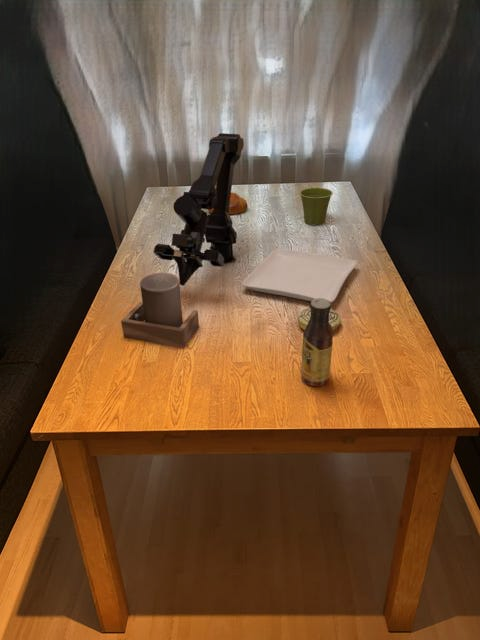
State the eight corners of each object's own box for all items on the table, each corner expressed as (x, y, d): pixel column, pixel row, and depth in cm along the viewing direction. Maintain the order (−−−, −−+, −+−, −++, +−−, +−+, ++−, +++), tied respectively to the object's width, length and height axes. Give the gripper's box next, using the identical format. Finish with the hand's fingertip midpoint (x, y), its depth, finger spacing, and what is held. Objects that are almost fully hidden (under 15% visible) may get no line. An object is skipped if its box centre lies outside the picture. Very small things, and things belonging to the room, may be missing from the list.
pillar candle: (138, 334, 134) (131, 282, 126) (158, 315, 141) (152, 264, 133) (172, 342, 131) (166, 289, 123) (190, 322, 138) (186, 271, 130)
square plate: (358, 270, 161) (359, 258, 159) (332, 313, 141) (333, 300, 139) (275, 256, 172) (275, 245, 169) (239, 294, 151) (239, 282, 149)
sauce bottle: (298, 371, 119) (301, 294, 108) (325, 369, 119) (331, 292, 109) (303, 390, 113) (307, 310, 103) (332, 387, 114) (339, 308, 103)
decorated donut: (348, 325, 135) (349, 312, 133) (323, 343, 129) (324, 330, 127) (314, 311, 141) (315, 299, 139) (289, 327, 135) (290, 315, 133)
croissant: (246, 221, 203) (248, 201, 199) (205, 217, 202) (207, 197, 198) (246, 207, 215) (248, 188, 211) (208, 203, 215) (209, 184, 210)
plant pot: (336, 219, 196) (338, 190, 190) (322, 230, 188) (324, 199, 182) (307, 214, 202) (308, 185, 196) (292, 224, 193) (293, 194, 187)
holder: (142, 318, 140) (139, 301, 138) (199, 327, 136) (197, 310, 133) (123, 337, 133) (121, 321, 130) (183, 348, 128) (182, 331, 125)
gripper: (151, 215, 140) (137, 271, 137) (217, 222, 134) (204, 280, 132) (167, 231, 150) (155, 284, 147) (229, 238, 145) (217, 292, 142)
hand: (181, 285), depth 142 cm, fingers closed
